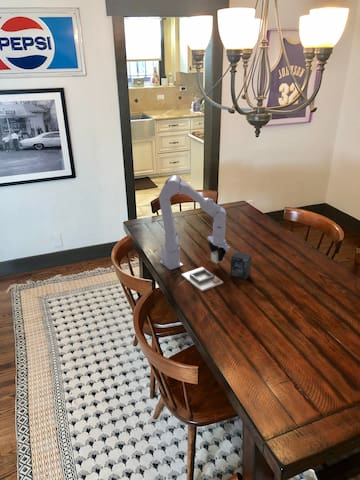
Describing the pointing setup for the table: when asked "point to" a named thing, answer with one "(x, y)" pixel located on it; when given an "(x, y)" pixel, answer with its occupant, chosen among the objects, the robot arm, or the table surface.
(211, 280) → the socket plate
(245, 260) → the box
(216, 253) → the plug
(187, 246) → the table surface
